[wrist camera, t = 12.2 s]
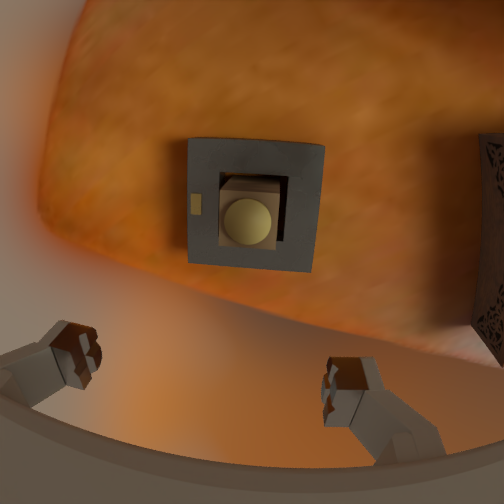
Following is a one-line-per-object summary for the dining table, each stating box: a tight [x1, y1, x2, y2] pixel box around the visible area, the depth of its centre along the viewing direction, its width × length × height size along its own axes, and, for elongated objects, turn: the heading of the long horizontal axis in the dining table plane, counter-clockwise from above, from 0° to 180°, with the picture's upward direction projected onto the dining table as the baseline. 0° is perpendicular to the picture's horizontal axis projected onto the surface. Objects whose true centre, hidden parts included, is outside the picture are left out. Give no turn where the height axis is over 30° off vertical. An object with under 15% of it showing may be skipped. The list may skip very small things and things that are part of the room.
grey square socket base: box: [187, 137, 325, 273], centre depth 31 cm, size 12×12×4 cm
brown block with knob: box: [219, 175, 280, 250], centre depth 28 cm, size 5×5×9 cm
